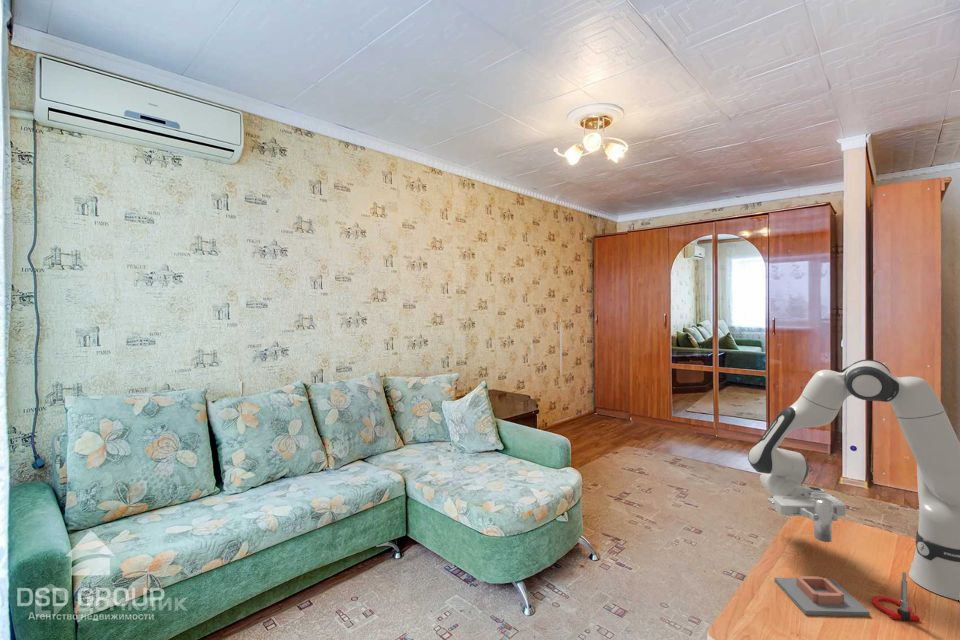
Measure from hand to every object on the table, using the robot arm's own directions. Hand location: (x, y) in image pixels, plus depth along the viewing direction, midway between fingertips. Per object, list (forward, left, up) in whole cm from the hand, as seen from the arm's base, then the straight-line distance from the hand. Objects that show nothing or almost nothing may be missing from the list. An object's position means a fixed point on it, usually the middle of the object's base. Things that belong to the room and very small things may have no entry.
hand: (825, 518), depth 136 cm
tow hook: (-9, +14, -19) cm, 25 cm away
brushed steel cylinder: (0, -1, -7) cm, 7 cm away
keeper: (+8, +10, -19) cm, 23 cm away
